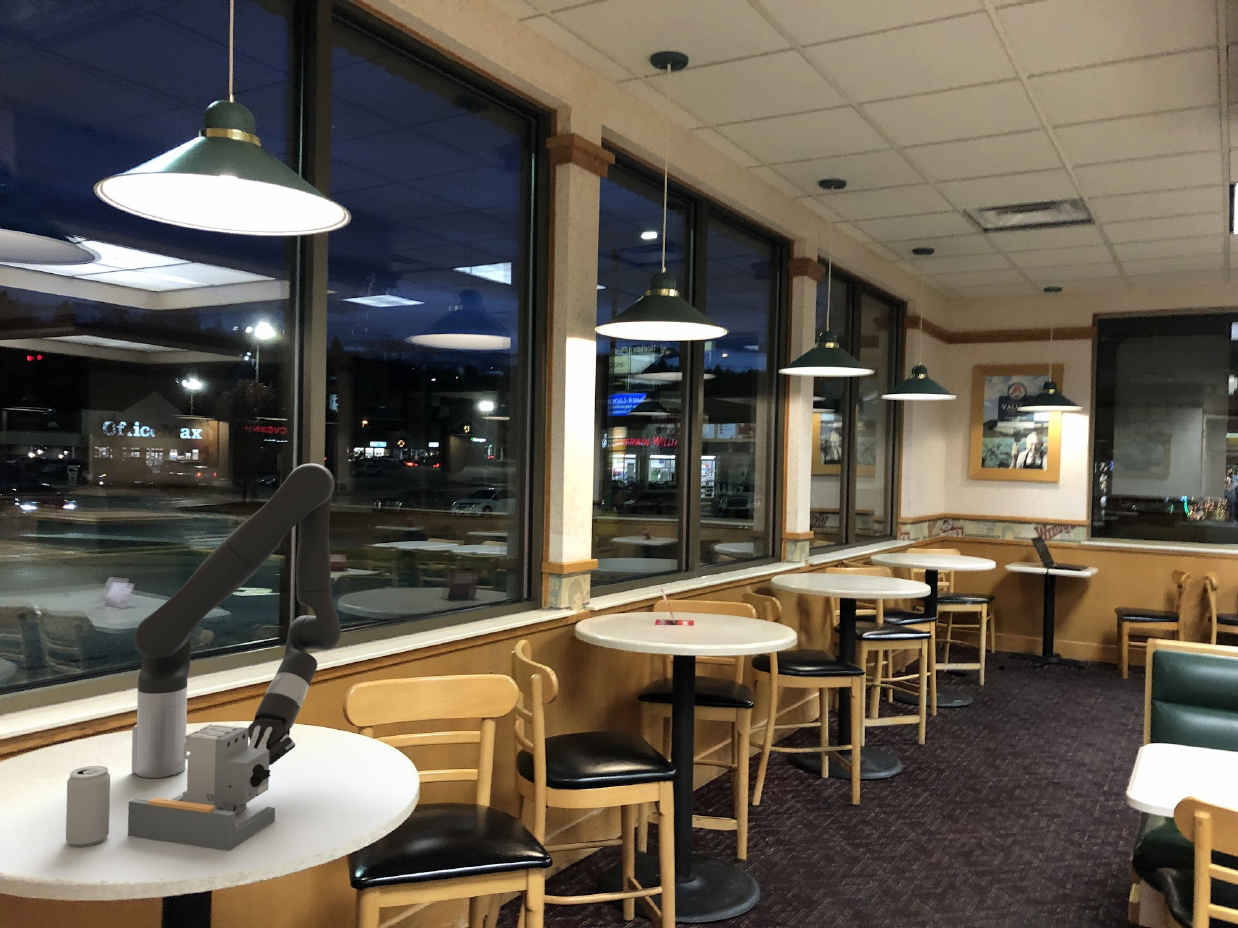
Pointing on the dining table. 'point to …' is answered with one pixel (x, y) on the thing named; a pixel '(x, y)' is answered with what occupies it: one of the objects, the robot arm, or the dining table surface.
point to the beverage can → (88, 806)
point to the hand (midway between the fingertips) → (244, 782)
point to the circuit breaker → (224, 768)
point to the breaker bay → (192, 823)
